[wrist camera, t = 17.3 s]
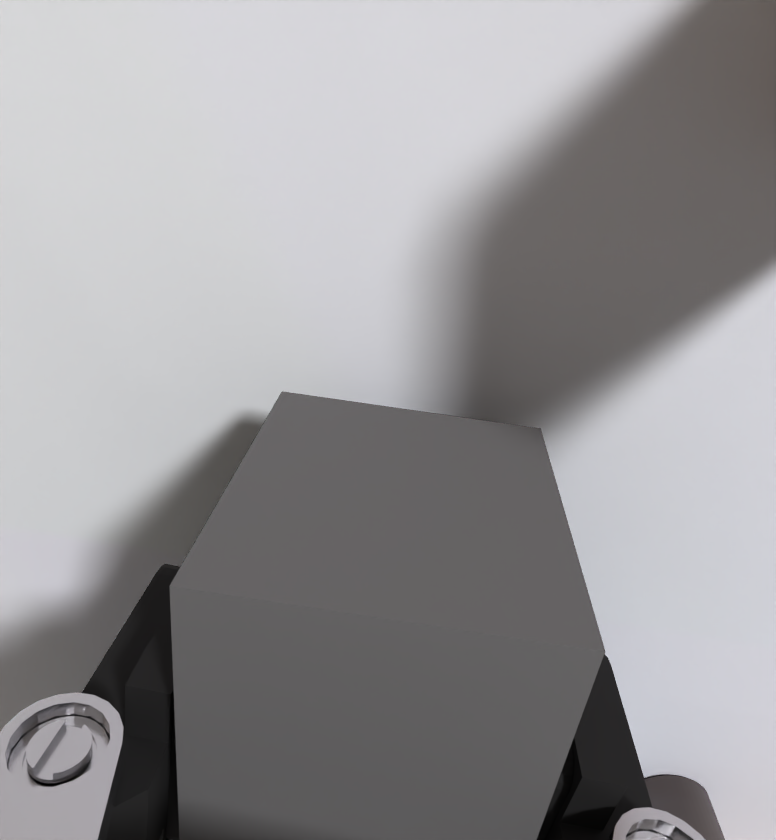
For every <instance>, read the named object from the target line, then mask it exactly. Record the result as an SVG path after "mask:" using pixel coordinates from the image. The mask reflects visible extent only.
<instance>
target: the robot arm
mask: <svg viewBox="0 0 776 840" xmlns="http://www.w3.org/2000/svg"><path fill="white" fill-rule="evenodd" d="M179 569H180V567H178V566H173V565H169V564H164V565H163V566H161V568H160V569H159V570H158V572H157V573H156V574H155V576H154V578H153V579H152V581H151V583H150V584H149V586H148V587H147V589H146V591H145V592H144V594H143V595H142V597H141V599H140V600H139V602H138V603H137V605H136V607H135V608H134V610H133V611H132V613H131V615H130V616H129V618H128V620H127V621H126V623H125V624H124V626H123V628H122V629H121V631H120V632H119V634H118V636H117V637H116V639H115V640H114V642H113V644H112V645H111V647H110V648H109V650H108V652H107V653H106V655H105V657H104V658H103V660H102V661H101V663H100V665H99V666H98V668H97V669H96V671H95V673H94V674H93V676H92V677H91V679H90V681H89V682H88V684H87V685H86V687H85V689H84V690H83V692H82V693H77V692H76V693H66V694H57V695H54V696H51V697H48V698H45V699H42V700H39V701H37V702H35V703H33V704H32V705H30V706H28V707H26V708H25V709H23V710H21V711H20V712H19V713H18V714H17V715H15V716H14V717H13V718H12V719H11V720H10V721H9V722H8V723H7V724H6V725H5V726H4V727H3V729H2V730H1V732H0V840H180V839H179V814H178V788H177V763H176V738H175V712H174V687H173V662H172V636H171V611H170V584H171V582H172V581H173V579H174V577H175V576H176V574H177V572H178V570H179ZM537 840H705V839H704V838H703V837H702V835H701V834H700V833H698V832H697V831H696V830H695V829H693V828H692V827H691V826H690V825H688V824H687V823H686V822H685V821H683V820H681V819H679V818H678V817H676V816H674V815H672V814H670V813H668V812H666V811H662V810H658V809H654V808H653V807H652V804H651V801H650V797H649V794H648V790H647V787H646V783H645V780H644V777H643V773H642V770H641V766H640V763H639V759H638V756H637V753H636V749H635V746H634V742H633V739H632V736H631V732H630V729H629V725H628V722H627V718H626V715H625V712H624V708H623V705H622V701H621V698H620V695H619V691H618V688H617V684H616V681H615V677H614V674H613V671H612V667H611V664H610V662H609V660H608V657H607V656H606V655H605V654H604V656H603V659H602V662H601V665H600V667H599V670H598V673H597V675H596V678H595V681H594V684H593V686H592V689H591V692H590V695H589V697H588V700H587V703H586V706H585V708H584V711H583V714H582V717H581V719H580V722H579V725H578V728H577V730H576V733H575V736H574V739H573V741H572V744H571V747H570V749H569V752H568V755H567V758H566V760H565V763H564V766H563V769H562V771H561V774H560V777H559V780H558V782H557V785H556V788H555V791H554V793H553V796H552V799H551V802H550V804H549V807H548V810H547V812H546V815H545V818H544V821H543V823H542V826H541V829H540V832H539V834H538V837H537Z"/></svg>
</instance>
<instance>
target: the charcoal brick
mask: <svg viewBox="0 0 776 840" xmlns="http://www.w3.org/2000/svg"><path fill="white" fill-rule="evenodd" d="M170 611H171V636H172V662H173V687H174V712H175V738H176V763H177V788H178V814H179V839H180V840H537V837H538V834H539V832H540V829H541V826H542V823H543V821H544V818H545V815H546V812H547V810H548V807H549V804H550V802H551V799H552V796H553V793H554V791H555V788H556V785H557V782H558V780H559V777H560V774H561V771H562V769H563V766H564V763H565V760H566V758H567V755H568V752H569V749H570V747H571V744H572V741H573V739H574V736H575V733H576V730H577V728H578V725H579V722H580V719H581V717H582V714H583V711H584V708H585V706H586V703H587V700H588V697H589V695H590V692H591V689H592V686H593V684H594V681H595V678H596V675H597V673H598V670H599V667H600V665H601V662H602V659H603V656H604V654H605V649H604V646H603V642H602V639H601V635H600V632H599V628H598V625H597V621H596V618H595V614H594V611H593V608H592V604H591V601H590V597H589V594H588V590H587V587H586V583H585V580H584V577H583V573H582V570H581V566H580V563H579V559H578V556H577V552H576V549H575V546H574V542H573V539H572V535H571V532H570V528H569V525H568V521H567V518H566V515H565V511H564V508H563V504H562V501H561V497H560V494H559V490H558V487H557V483H556V480H555V477H554V473H553V470H552V466H551V463H550V459H549V456H548V452H547V449H546V446H545V442H544V439H543V435H542V432H541V429H540V428H533V427H526V426H519V425H512V424H505V423H498V422H491V421H484V420H477V419H470V418H463V417H456V416H449V415H442V414H435V413H428V412H421V411H414V410H407V409H400V408H393V407H386V406H379V405H372V404H365V403H358V402H352V401H345V400H338V399H331V398H324V397H317V396H310V395H303V394H296V393H289V392H281V394H280V396H279V398H278V399H277V401H276V403H275V404H274V406H273V408H272V410H271V411H270V413H269V415H268V417H267V418H266V420H265V422H264V424H263V425H262V427H261V429H260V430H259V432H258V434H257V436H256V437H255V439H254V441H253V443H252V444H251V446H250V448H249V449H248V451H247V453H246V455H245V456H244V458H243V460H242V462H241V463H240V465H239V467H238V468H237V470H236V472H235V474H234V475H233V477H232V479H231V481H230V482H229V484H228V486H227V487H226V489H225V491H224V493H223V494H222V496H221V498H220V500H219V501H218V503H217V505H216V506H215V508H214V510H213V512H212V513H211V515H210V517H209V519H208V520H207V522H206V524H205V525H204V527H203V529H202V531H201V532H200V534H199V536H198V538H197V539H196V541H195V543H194V544H193V546H192V548H191V550H190V551H189V553H188V555H187V557H186V558H185V560H184V562H183V563H182V565H181V567H180V569H179V570H178V572H177V574H176V576H175V577H174V579H173V581H172V582H171V584H170Z"/></svg>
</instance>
